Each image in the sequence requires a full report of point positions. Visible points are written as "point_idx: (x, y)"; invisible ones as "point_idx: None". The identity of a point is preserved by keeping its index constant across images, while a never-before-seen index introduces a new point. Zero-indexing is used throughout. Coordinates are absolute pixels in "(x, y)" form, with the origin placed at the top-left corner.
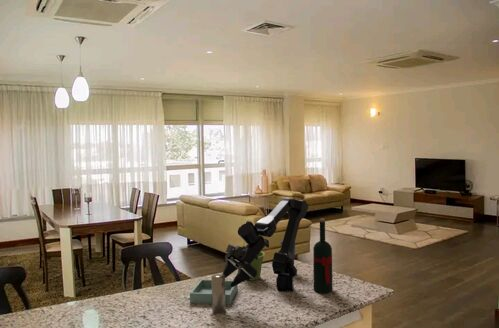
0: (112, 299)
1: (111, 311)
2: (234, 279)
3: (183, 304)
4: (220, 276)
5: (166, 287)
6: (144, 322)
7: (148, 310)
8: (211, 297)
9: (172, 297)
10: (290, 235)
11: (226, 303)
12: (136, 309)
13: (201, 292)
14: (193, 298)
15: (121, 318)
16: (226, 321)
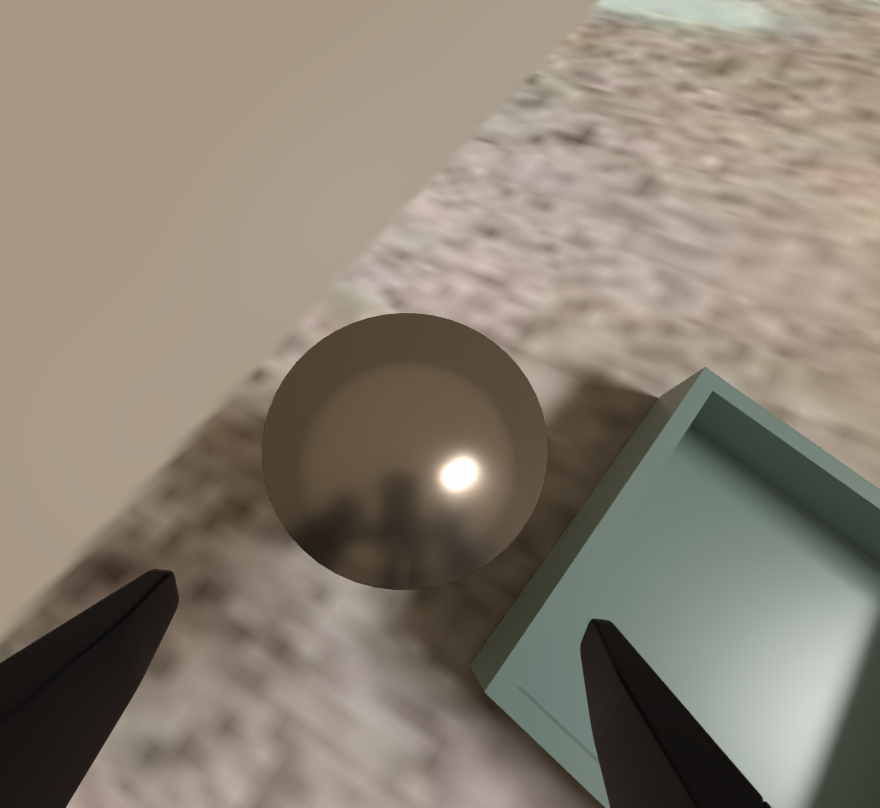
0: (866, 100)
1: (707, 62)
2: (10, 673)
3: (648, 351)
4: (357, 462)
5: None
6: (503, 119)
7: (645, 174)
8: (588, 522)
9: (801, 341)
10: None
11: (492, 636)
12: (685, 139)
13: (811, 545)
14: (663, 405)
15: (604, 69)
16: (205, 466)
